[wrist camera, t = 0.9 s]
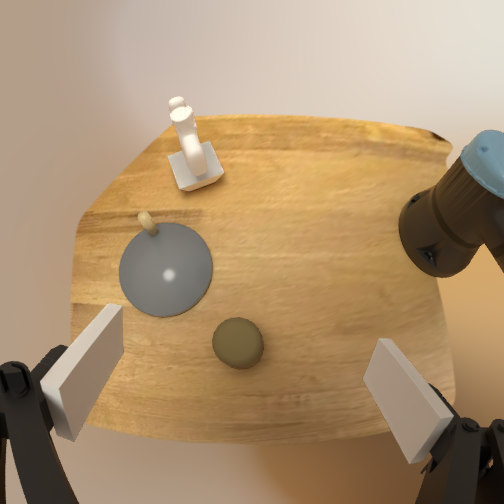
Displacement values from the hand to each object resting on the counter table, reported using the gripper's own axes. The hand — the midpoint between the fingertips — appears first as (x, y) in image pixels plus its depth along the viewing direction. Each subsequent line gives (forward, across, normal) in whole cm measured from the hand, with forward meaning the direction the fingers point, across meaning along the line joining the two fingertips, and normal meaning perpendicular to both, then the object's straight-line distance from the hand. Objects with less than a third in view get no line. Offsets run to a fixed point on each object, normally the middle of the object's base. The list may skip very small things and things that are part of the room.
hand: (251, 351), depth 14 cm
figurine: (+39, -8, +7) cm, 40 cm away
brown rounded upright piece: (+23, +2, -14) cm, 27 cm away
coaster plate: (+29, -10, -7) cm, 32 cm away
